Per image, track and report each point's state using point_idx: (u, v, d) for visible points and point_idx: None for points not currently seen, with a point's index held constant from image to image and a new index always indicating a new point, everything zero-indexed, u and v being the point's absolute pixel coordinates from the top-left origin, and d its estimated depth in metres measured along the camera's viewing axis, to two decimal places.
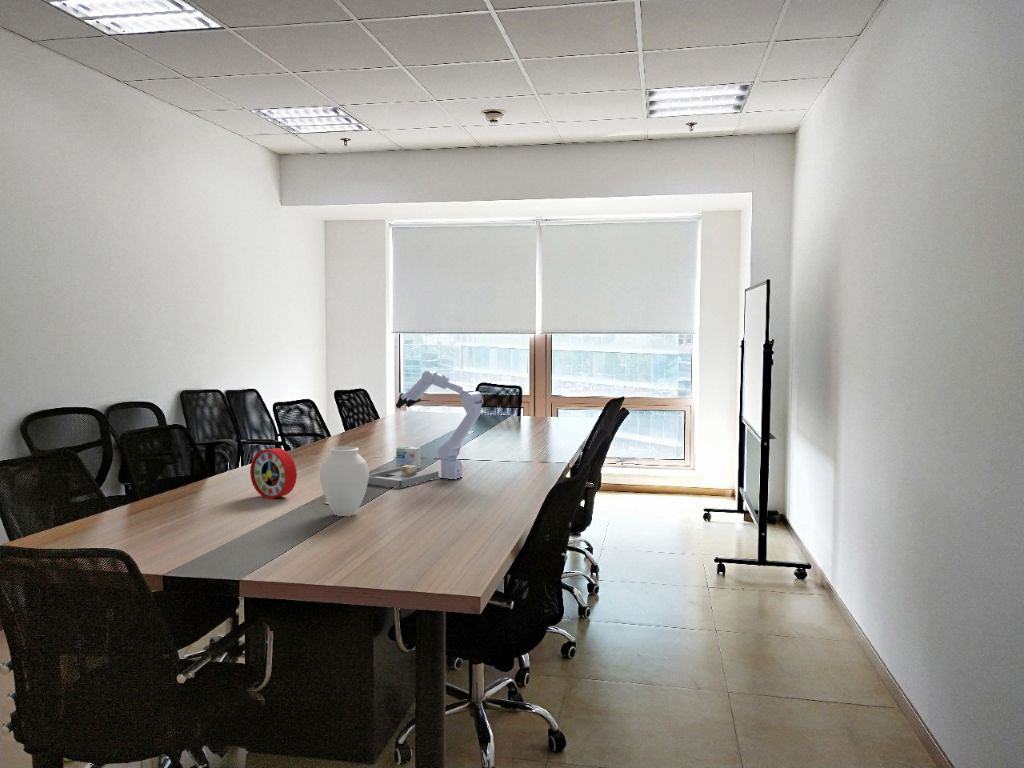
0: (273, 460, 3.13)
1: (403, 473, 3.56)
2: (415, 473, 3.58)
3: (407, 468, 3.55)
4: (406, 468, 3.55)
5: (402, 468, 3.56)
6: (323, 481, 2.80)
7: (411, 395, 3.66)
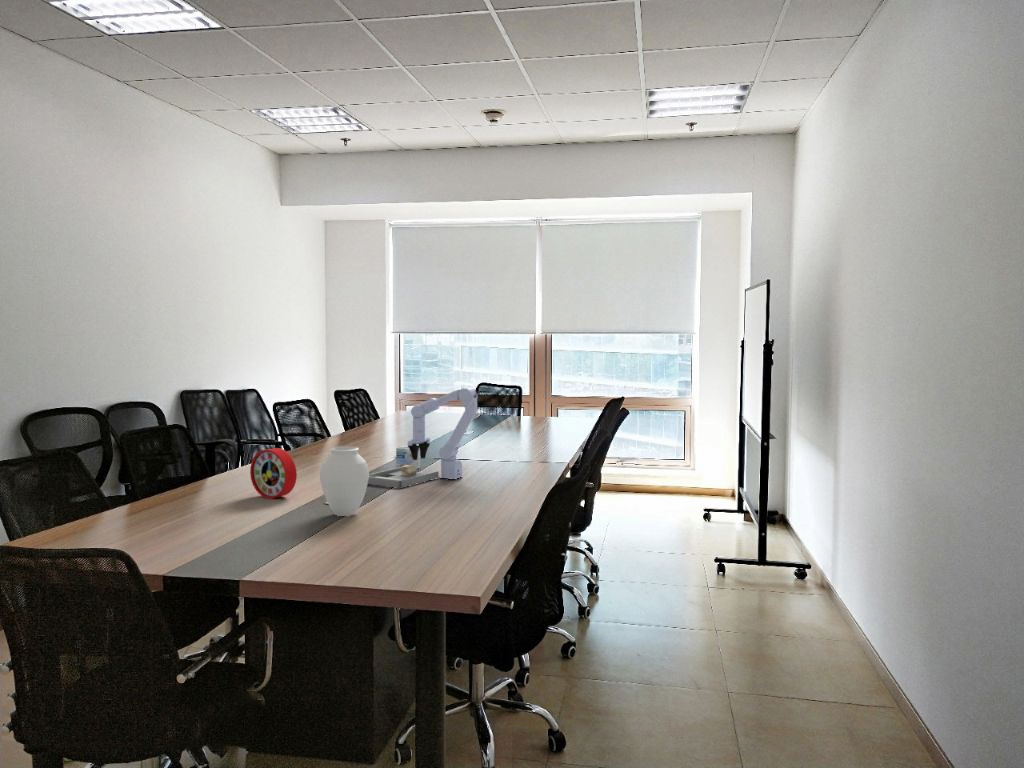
0: (273, 460, 3.13)
1: (403, 473, 3.56)
2: (415, 473, 3.58)
3: (407, 468, 3.55)
4: (406, 468, 3.55)
5: (402, 468, 3.56)
6: (323, 481, 2.80)
7: (416, 439, 3.60)
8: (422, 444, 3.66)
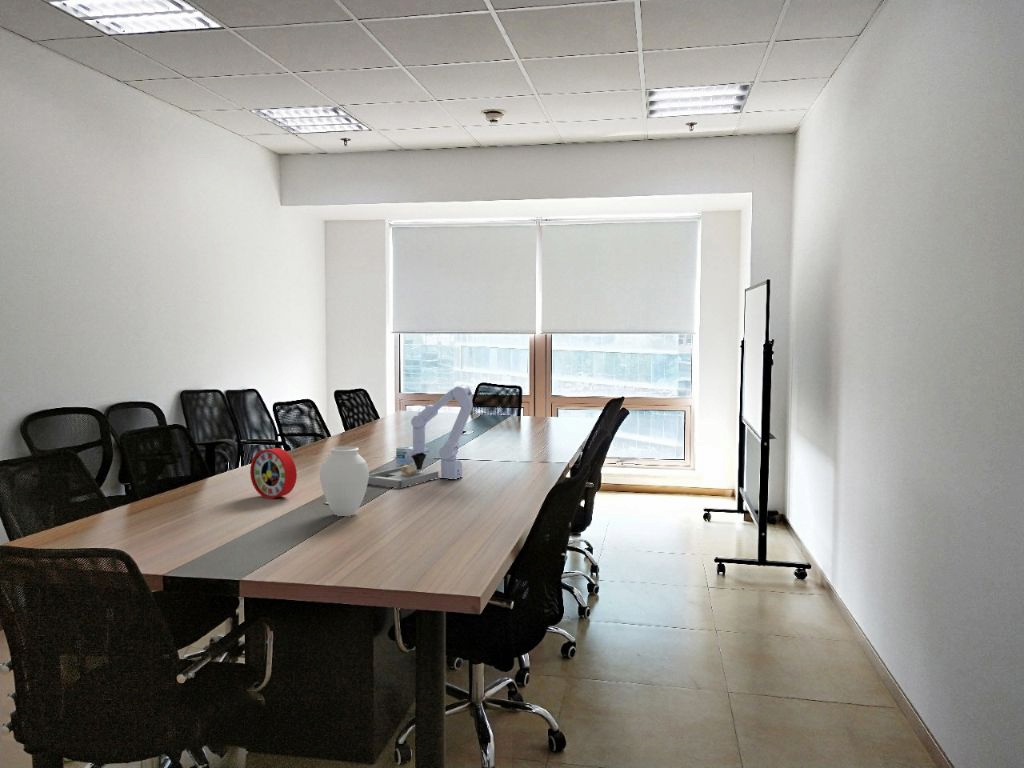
0: (273, 460, 3.13)
1: (403, 473, 3.56)
2: (415, 473, 3.58)
3: (407, 468, 3.55)
4: (406, 468, 3.55)
5: (402, 468, 3.56)
6: (323, 481, 2.80)
7: (416, 449, 3.60)
8: None
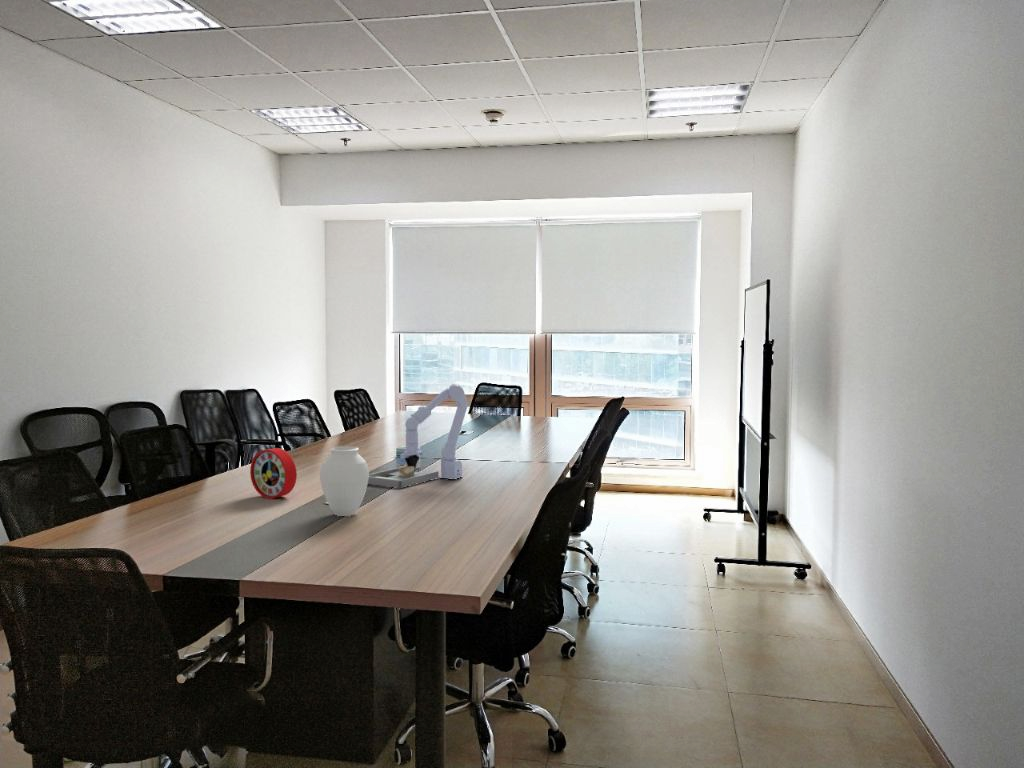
0: (273, 460, 3.13)
1: (400, 473, 3.54)
2: (413, 474, 3.56)
3: (405, 469, 3.53)
4: (404, 468, 3.53)
5: (400, 468, 3.55)
6: (323, 481, 2.80)
7: (409, 451, 3.56)
8: None
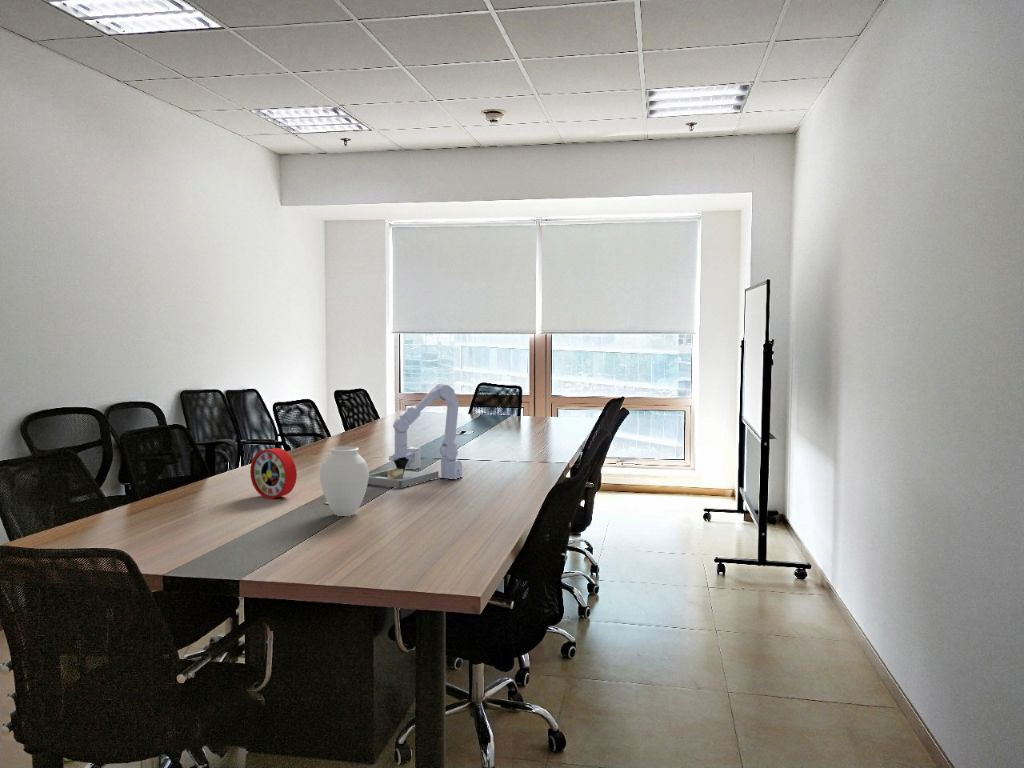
0: (273, 460, 3.13)
1: (389, 476, 3.48)
2: (402, 477, 3.50)
3: (393, 471, 3.46)
4: (392, 471, 3.47)
5: (388, 471, 3.48)
6: (323, 481, 2.80)
7: (398, 454, 3.49)
8: None
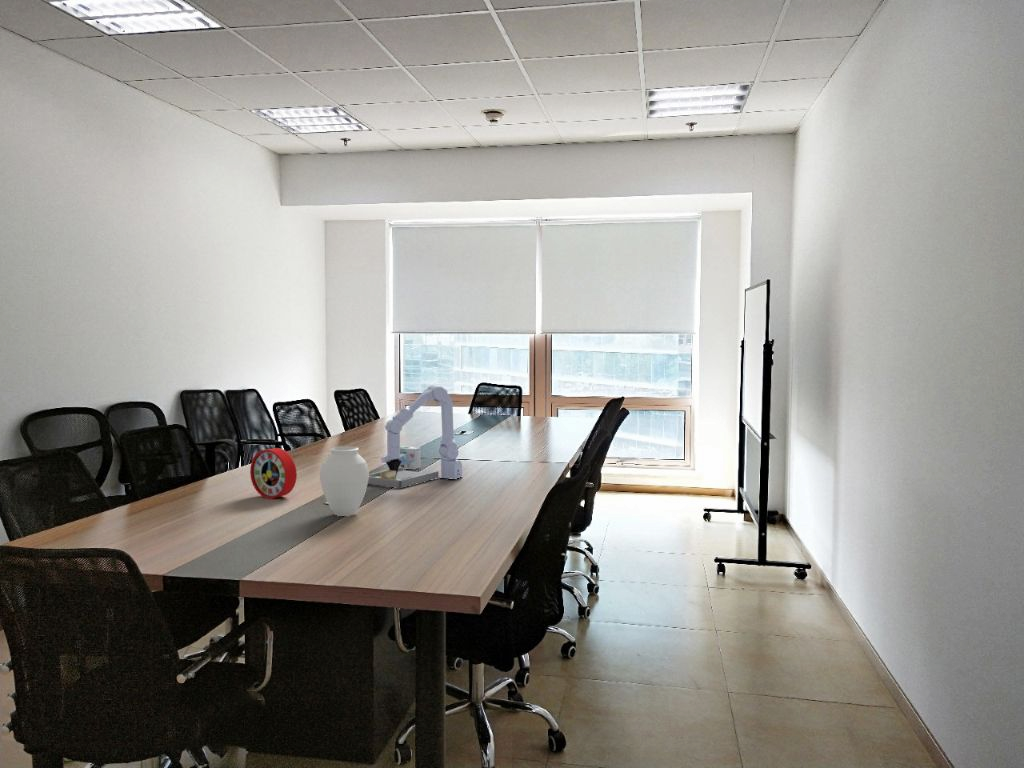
0: (273, 460, 3.13)
1: None
2: (395, 479, 3.45)
3: (386, 473, 3.42)
4: (385, 473, 3.42)
5: (381, 473, 3.43)
6: (323, 481, 2.80)
7: (391, 455, 3.45)
8: None
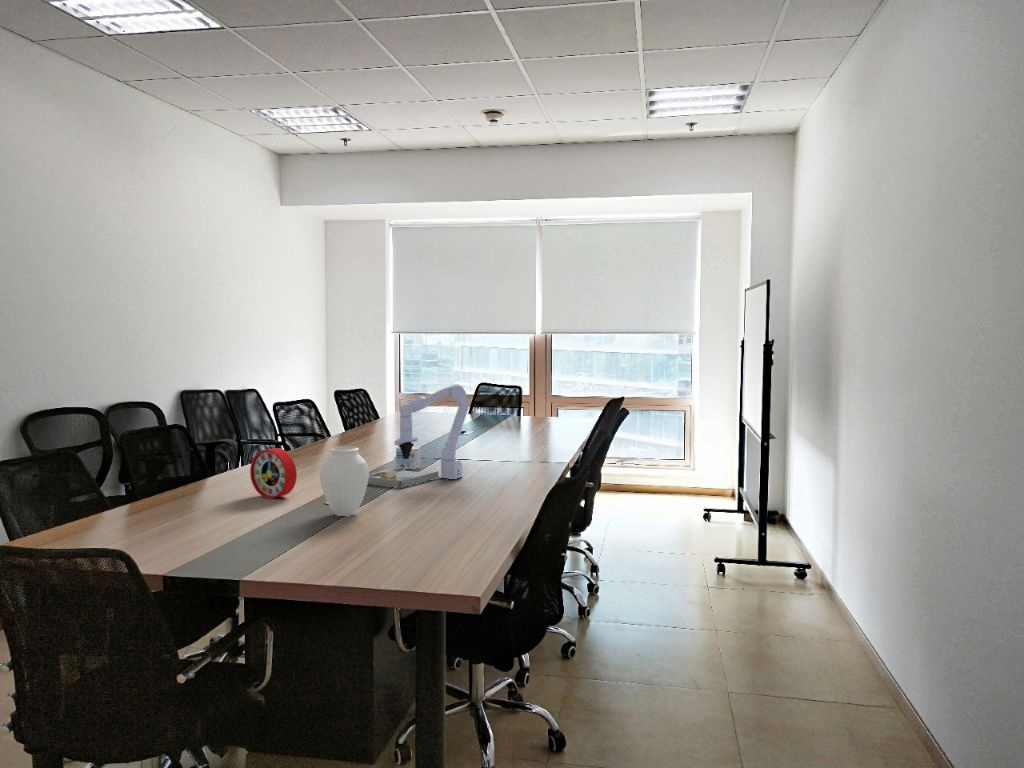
0: (273, 460, 3.13)
1: None
2: (395, 479, 3.45)
3: (386, 473, 3.42)
4: (385, 473, 3.42)
5: (381, 473, 3.43)
6: (323, 481, 2.80)
7: (403, 438, 3.55)
8: None
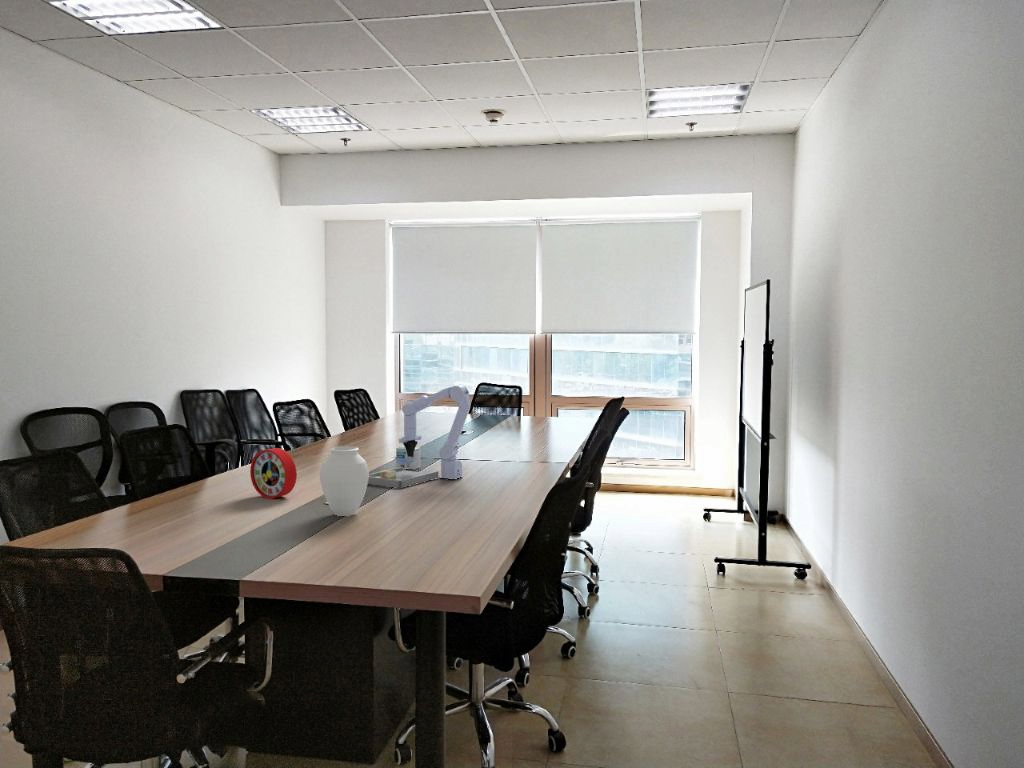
0: (273, 460, 3.13)
1: None
2: (395, 479, 3.45)
3: (386, 473, 3.42)
4: (385, 473, 3.42)
5: (381, 473, 3.43)
6: (323, 481, 2.80)
7: (407, 436, 3.61)
8: None
